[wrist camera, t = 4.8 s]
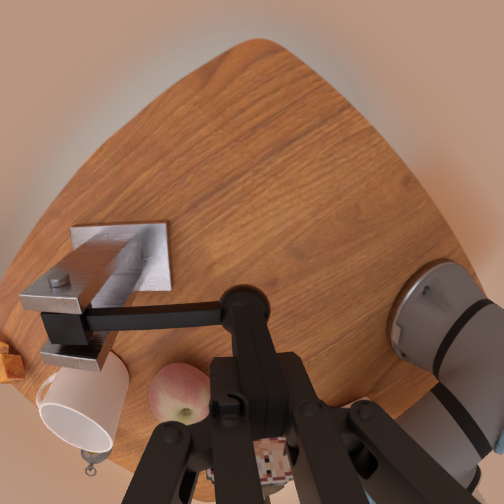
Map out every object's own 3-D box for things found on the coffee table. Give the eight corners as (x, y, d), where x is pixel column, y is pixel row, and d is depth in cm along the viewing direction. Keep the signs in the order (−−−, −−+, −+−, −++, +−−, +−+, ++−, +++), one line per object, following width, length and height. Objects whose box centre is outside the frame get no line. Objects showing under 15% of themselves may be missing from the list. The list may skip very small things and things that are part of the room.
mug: (42, 338, 27) (5, 391, 17) (119, 341, 28) (92, 409, 18) (65, 386, 30) (41, 439, 20) (138, 392, 31) (124, 457, 21)
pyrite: (5, 342, 28) (17, 336, 28) (14, 384, 26) (27, 379, 26) (-18, 339, 23) (-7, 332, 23) (-9, 384, 21) (3, 380, 21)
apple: (228, 382, 32) (233, 432, 24) (177, 400, 32) (173, 448, 25) (194, 338, 29) (191, 390, 22) (140, 360, 29) (127, 409, 22)
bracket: (168, 220, 25) (124, 283, 12) (173, 285, 27) (147, 385, 14) (75, 224, 24) (-13, 280, 11) (85, 285, 26) (20, 367, 13)
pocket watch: (72, 394, 30) (51, 444, 21) (122, 419, 33) (110, 472, 23) (65, 416, 32) (49, 461, 23) (109, 439, 34) (99, 485, 25)
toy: (204, 433, 35) (207, 491, 26) (205, 429, 34) (208, 489, 26) (291, 433, 38) (304, 485, 29) (294, 429, 37) (307, 483, 28)
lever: (263, 273, 18) (279, 296, 15) (261, 316, 19) (275, 343, 16) (53, 285, 15) (34, 309, 12) (65, 327, 16) (51, 354, 13)
